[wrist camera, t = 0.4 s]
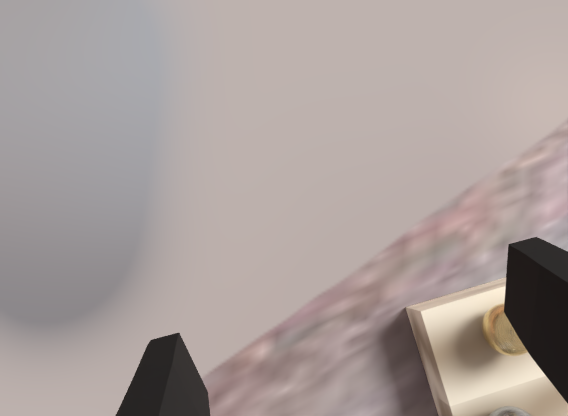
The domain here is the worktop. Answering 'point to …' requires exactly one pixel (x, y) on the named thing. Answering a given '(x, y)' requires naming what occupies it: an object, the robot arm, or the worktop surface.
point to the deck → (476, 359)
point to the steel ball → (509, 411)
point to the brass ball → (501, 332)
